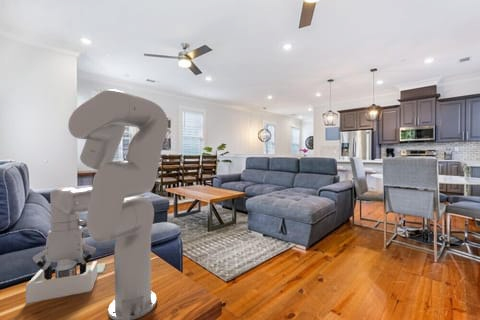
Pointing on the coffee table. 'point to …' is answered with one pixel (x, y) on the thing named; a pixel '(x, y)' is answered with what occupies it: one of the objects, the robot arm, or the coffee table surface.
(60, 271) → the pill bottle
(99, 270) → the tile
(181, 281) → the coffee table surface
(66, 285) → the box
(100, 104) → the robot arm
